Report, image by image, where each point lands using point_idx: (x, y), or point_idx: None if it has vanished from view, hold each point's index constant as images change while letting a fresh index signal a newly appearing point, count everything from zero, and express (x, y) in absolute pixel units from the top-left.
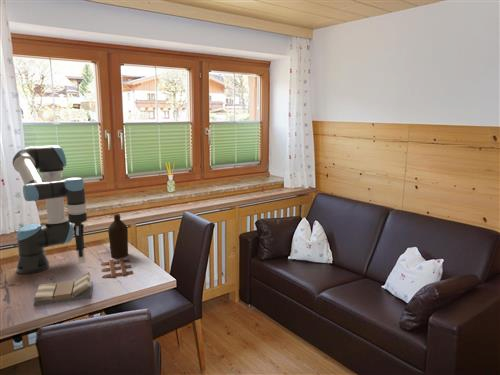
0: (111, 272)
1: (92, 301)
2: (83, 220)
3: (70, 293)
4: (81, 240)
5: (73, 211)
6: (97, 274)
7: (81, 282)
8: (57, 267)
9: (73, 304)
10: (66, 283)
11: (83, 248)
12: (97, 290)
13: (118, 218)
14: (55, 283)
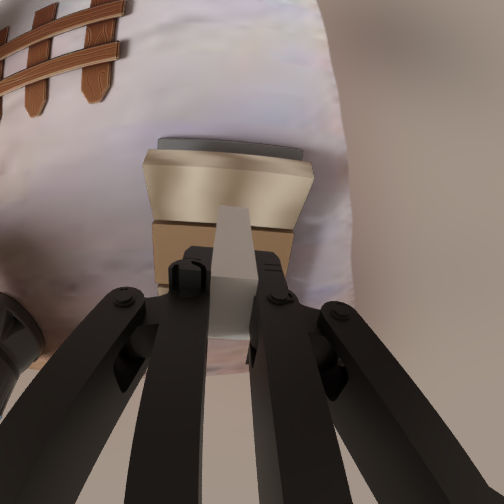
0: (77, 65)
1: (334, 148)
2: None
3: (293, 236)
4: (442, 422)
5: None
6: (61, 127)
7: (242, 196)
8: (2, 272)
9: (322, 215)
10: (175, 253)
11: (283, 293)
12: (233, 117)
13: None
14: (163, 290)
